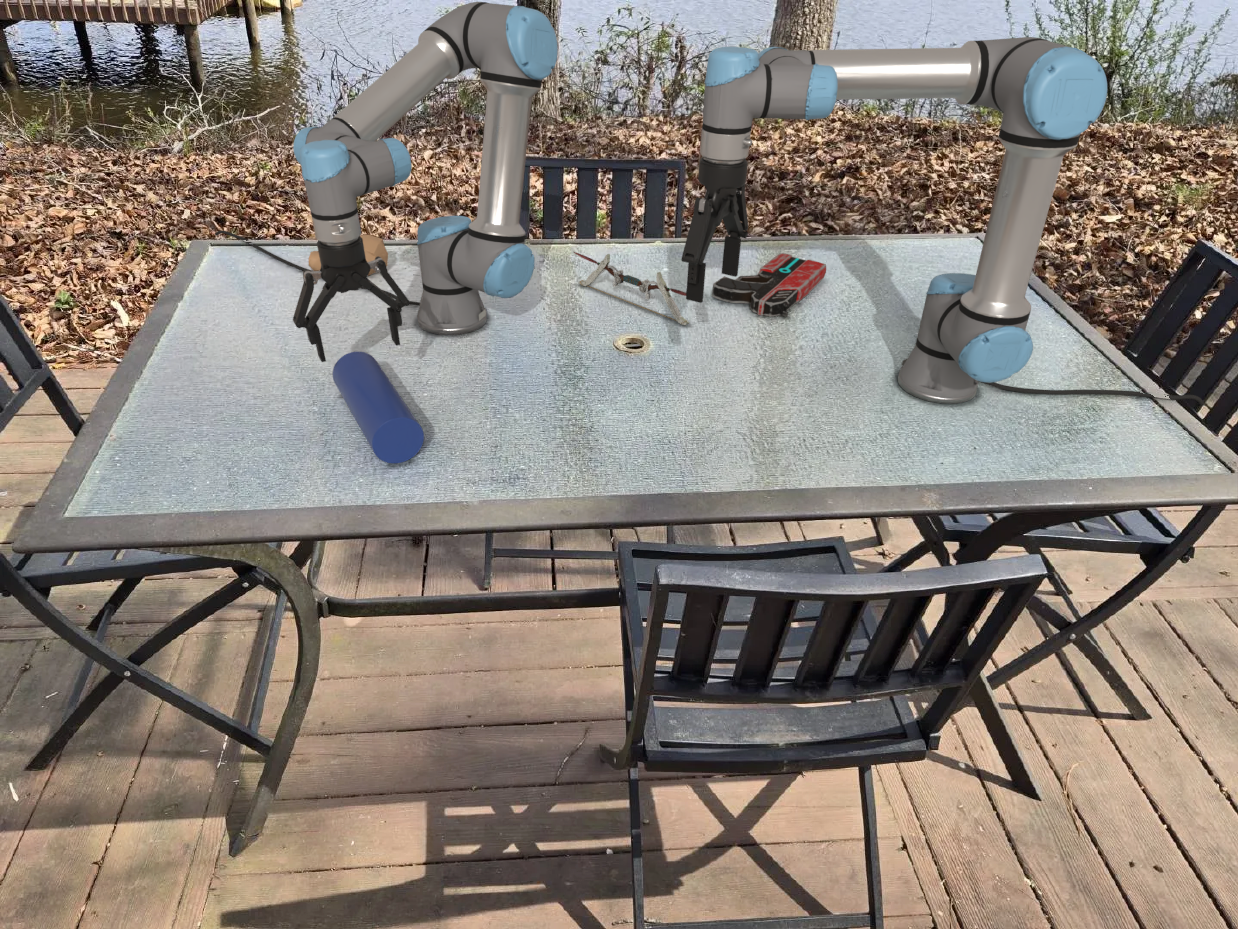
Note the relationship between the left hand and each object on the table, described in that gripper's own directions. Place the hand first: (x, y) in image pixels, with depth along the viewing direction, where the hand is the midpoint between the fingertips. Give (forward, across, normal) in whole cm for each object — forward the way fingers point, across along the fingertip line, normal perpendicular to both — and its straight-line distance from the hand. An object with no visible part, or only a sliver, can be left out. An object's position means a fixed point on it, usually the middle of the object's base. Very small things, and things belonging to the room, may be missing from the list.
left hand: (359, 350), depth 160 cm
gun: (+14, +103, +10) cm, 104 cm away
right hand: (-15, +53, -35) cm, 65 cm away
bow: (+13, +68, +18) cm, 71 cm away
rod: (+11, -1, -10) cm, 14 cm away
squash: (+12, +13, +66) cm, 69 cm away
